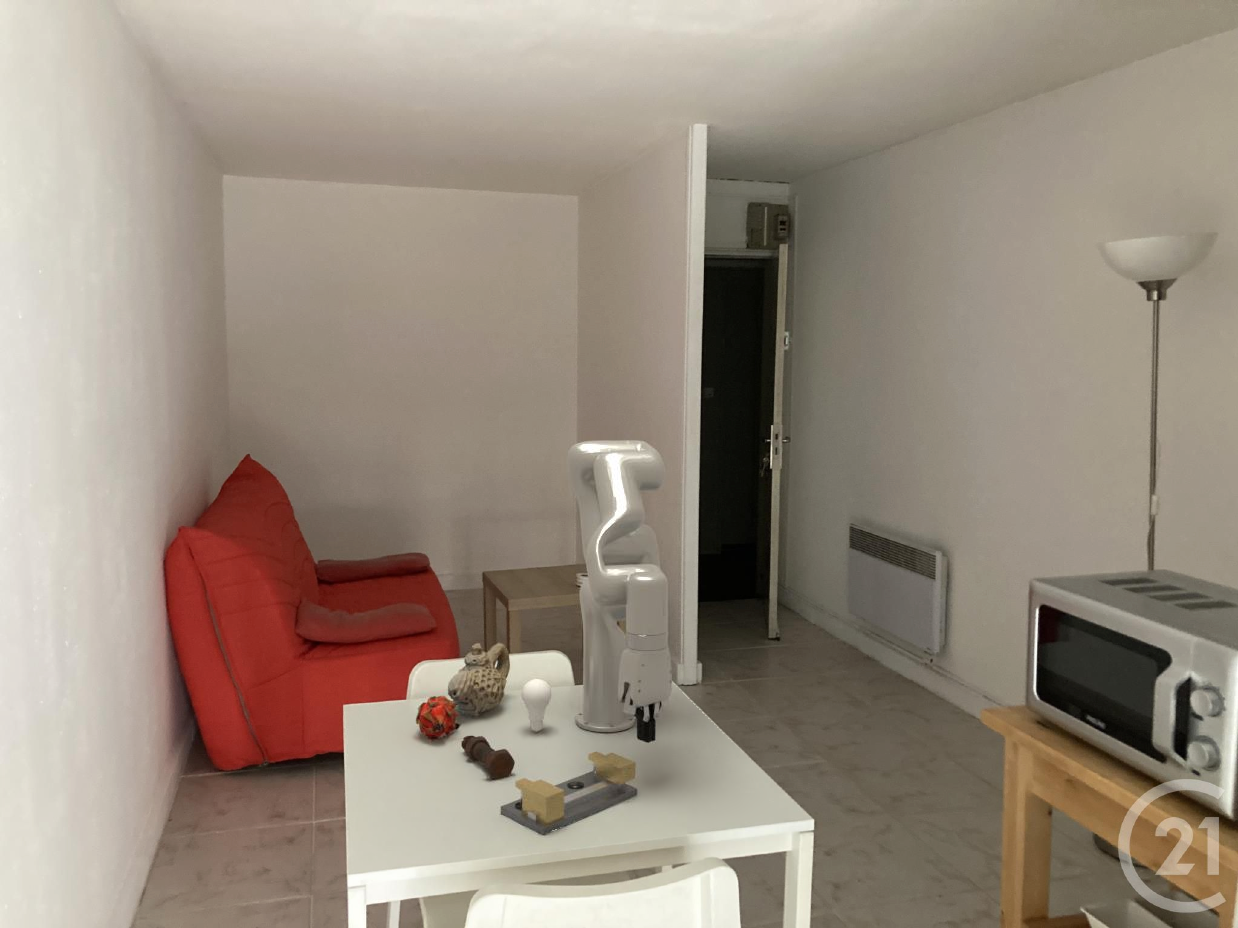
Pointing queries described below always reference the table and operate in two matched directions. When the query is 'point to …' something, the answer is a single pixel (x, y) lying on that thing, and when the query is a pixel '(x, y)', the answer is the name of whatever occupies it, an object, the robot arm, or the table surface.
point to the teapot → (480, 680)
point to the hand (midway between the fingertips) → (646, 739)
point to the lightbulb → (536, 701)
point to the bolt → (488, 757)
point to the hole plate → (564, 801)
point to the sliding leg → (613, 767)
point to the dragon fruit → (437, 717)
